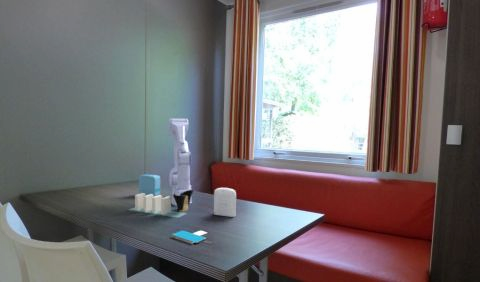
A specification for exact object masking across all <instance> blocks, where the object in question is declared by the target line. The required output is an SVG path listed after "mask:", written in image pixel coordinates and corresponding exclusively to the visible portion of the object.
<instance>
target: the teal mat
mask: <svg viewBox="0 0 480 282" xmlns="http://www.w3.org/2000/svg"><path fill="white" fill-rule="evenodd" d="M128 211H133V212H140V213H145V214H146V213H147V214H151V215H159V216H165V217H171V218H181V217H182V216H185V215H187V214H188V213H186V212H179V211H175V210H171V212H169V213H167V214H164V215H163V214H161V211H159V212H157V213H152V210H150V211H147V212H144V211H143V209H141V210H135V207H132V208H130V209H128Z"/></svg>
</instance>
